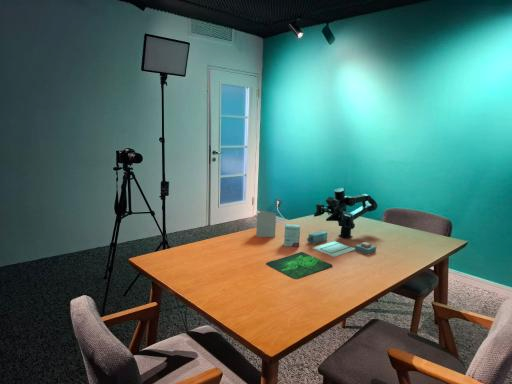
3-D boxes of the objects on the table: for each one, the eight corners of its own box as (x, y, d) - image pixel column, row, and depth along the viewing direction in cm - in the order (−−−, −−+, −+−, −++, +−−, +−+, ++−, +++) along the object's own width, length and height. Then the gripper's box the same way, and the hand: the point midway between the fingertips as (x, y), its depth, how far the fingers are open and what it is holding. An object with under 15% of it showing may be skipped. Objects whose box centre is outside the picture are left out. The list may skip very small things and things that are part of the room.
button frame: (363, 247, 196) (363, 242, 196) (375, 251, 190) (376, 246, 190) (354, 250, 191) (355, 245, 191) (367, 254, 185) (368, 249, 185)
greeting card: (275, 236, 209) (276, 213, 206) (269, 240, 203) (270, 215, 200) (259, 233, 215) (260, 209, 212) (253, 236, 209) (254, 212, 206)
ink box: (298, 244, 198) (300, 224, 196) (299, 247, 193) (300, 227, 191) (283, 243, 199) (285, 223, 196) (283, 246, 194) (284, 226, 192)
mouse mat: (295, 281, 152) (295, 279, 152) (263, 264, 168) (263, 262, 168) (334, 266, 169) (334, 265, 169) (301, 253, 185) (301, 251, 185)
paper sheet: (334, 241, 204) (334, 241, 204) (356, 249, 193) (356, 248, 193) (312, 248, 192) (312, 247, 192) (334, 257, 180) (334, 256, 180)
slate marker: (321, 238, 210) (322, 230, 209) (326, 240, 206) (327, 232, 205) (305, 242, 201) (306, 234, 200) (311, 244, 198) (311, 236, 197)
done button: (364, 246, 193) (365, 241, 193) (370, 248, 190) (371, 243, 190) (360, 248, 191) (361, 243, 190) (366, 250, 188) (367, 245, 187)
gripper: (324, 191, 209) (306, 201, 201) (349, 198, 195) (331, 209, 186) (325, 207, 213) (308, 218, 205) (350, 215, 199) (333, 227, 191)
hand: (320, 217), depth 197 cm, fingers open, 9 cm apart
